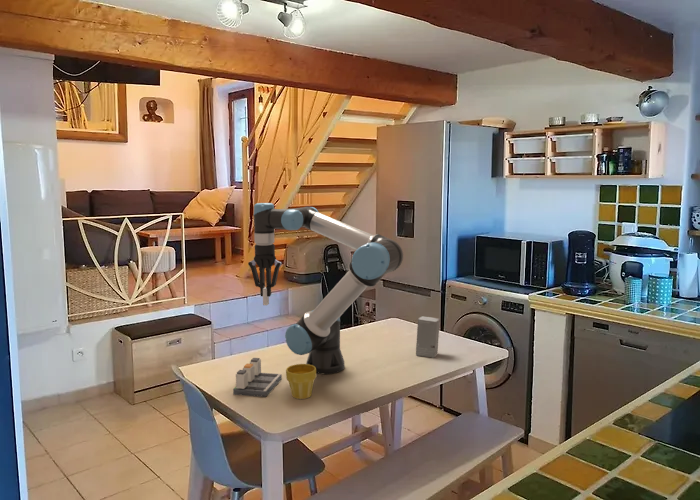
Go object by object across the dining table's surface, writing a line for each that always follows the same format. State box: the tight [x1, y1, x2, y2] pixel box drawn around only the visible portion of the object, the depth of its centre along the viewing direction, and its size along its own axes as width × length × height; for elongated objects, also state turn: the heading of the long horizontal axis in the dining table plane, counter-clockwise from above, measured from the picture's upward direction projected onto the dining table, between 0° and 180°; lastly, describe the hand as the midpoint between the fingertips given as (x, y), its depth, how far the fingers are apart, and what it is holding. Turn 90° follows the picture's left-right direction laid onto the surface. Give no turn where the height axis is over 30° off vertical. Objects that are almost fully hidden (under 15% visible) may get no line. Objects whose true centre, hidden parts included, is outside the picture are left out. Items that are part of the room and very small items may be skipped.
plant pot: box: [285, 363, 317, 400], centre depth 193 cm, size 10×10×10 cm
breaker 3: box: [249, 357, 262, 375], centre depth 208 cm, size 3×4×6 cm
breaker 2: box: [242, 363, 255, 382], centre depth 202 cm, size 3×4×6 cm
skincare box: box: [415, 315, 441, 359], centre depth 236 cm, size 8×7×16 cm
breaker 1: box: [235, 369, 248, 389], centre depth 195 cm, size 3×4×6 cm
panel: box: [232, 372, 283, 398], centre depth 201 cm, size 12×17×2 cm
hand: (266, 304), depth 215 cm, fingers closed
